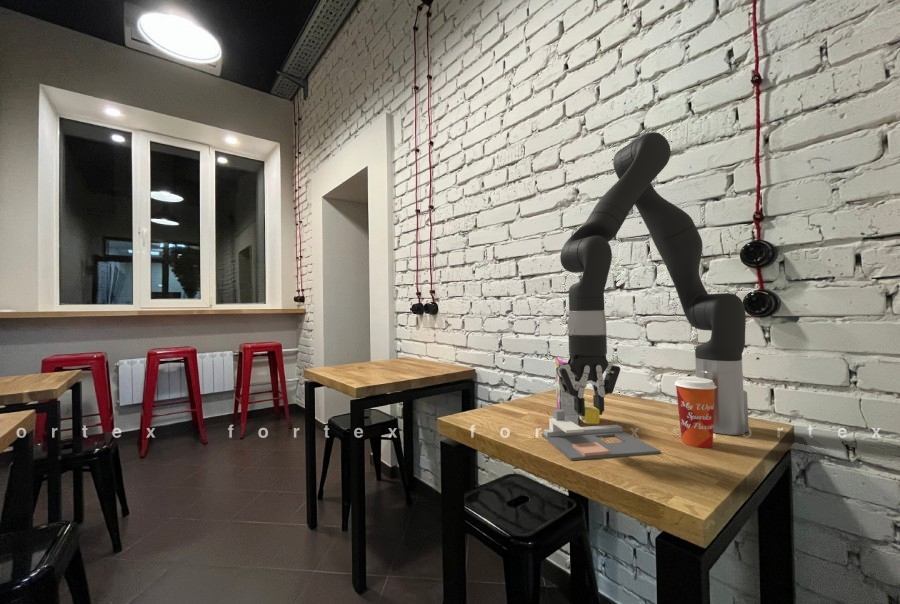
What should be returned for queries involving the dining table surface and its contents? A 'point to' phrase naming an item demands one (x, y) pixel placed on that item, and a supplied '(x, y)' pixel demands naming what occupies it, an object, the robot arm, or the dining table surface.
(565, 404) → the candy bar box
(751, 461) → the dining table surface
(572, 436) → the puzzle board
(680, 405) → the paper cup
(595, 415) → the alphabet block
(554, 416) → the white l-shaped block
